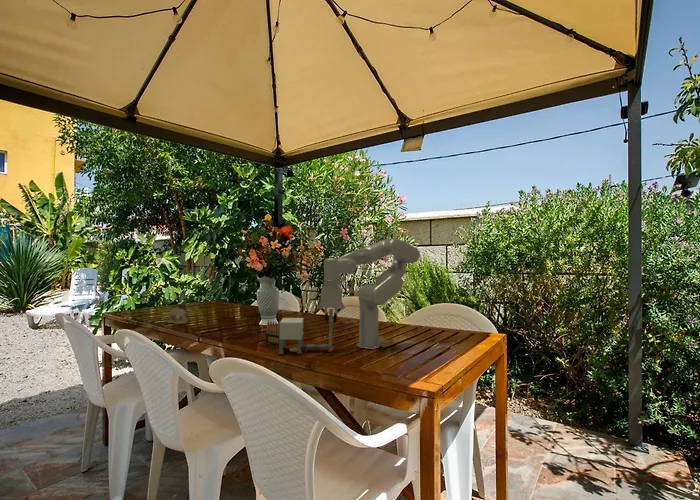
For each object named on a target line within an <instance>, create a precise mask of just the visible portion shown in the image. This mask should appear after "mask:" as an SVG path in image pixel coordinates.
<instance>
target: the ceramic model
mask: <svg viewBox="0 0 700 500" xmlns="http://www.w3.org/2000/svg"><path fill="white" fill-rule="evenodd" d="M168 316H169V317H168V318H166V319H165V322H166V323H168V324H177V325H178V324H186V323H188V322H189V319H188V318H187V317H188V313H187V311H185V310H184V308H180V307H176V308H175V307H174V308H172V309H171V310H169V313H168Z"/></svg>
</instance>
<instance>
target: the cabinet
mask: <svg viewBox="0 0 700 500" xmlns="http://www.w3.org/2000/svg"><path fill="white" fill-rule="evenodd" d="M279 323H280V340H279V346H278V347H279V349H278V355H279V354H283V355H284V349H283V348H285V347H286V348H287V340H296V341H297V348H298V352H297V354H298V353H301V354H302V349H301V347H303V348H304V332H305V327H304V317H282V319H281V320H280V321H279Z"/></svg>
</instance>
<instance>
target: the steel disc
mask: <svg viewBox="0 0 700 500" xmlns="http://www.w3.org/2000/svg"><path fill="white" fill-rule="evenodd" d="M289 350H290V351H298V347H290V348H289Z"/></svg>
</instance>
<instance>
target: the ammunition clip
mask: <svg viewBox="0 0 700 500" xmlns="http://www.w3.org/2000/svg"><path fill="white" fill-rule="evenodd" d="M279 340H280V321H278V322H277V321H274V320H267V323H266V334H265V344H266V343H270V344H269V345H271V344H276V345H275V346H277V345H279Z"/></svg>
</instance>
